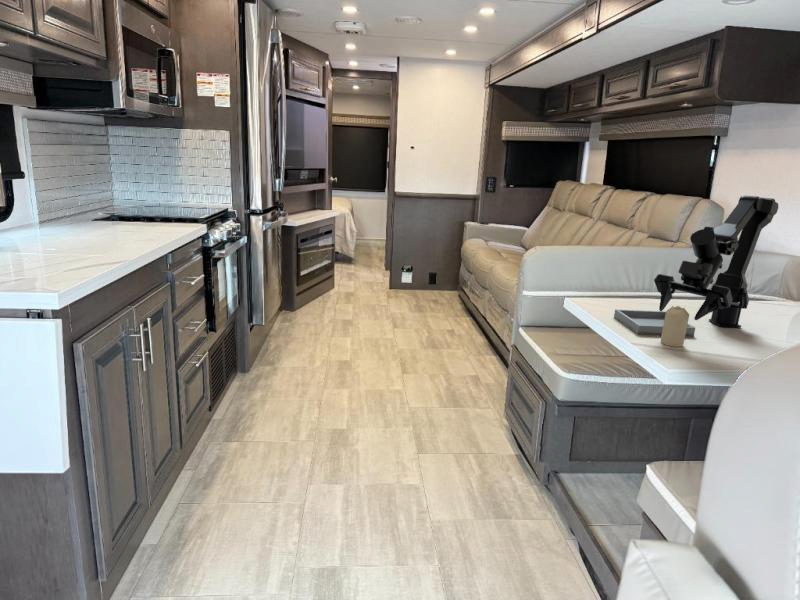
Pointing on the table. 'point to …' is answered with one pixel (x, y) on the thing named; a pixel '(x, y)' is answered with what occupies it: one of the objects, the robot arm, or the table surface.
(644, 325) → the tray
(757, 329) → the table surface
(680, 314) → the candle
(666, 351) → the table surface
